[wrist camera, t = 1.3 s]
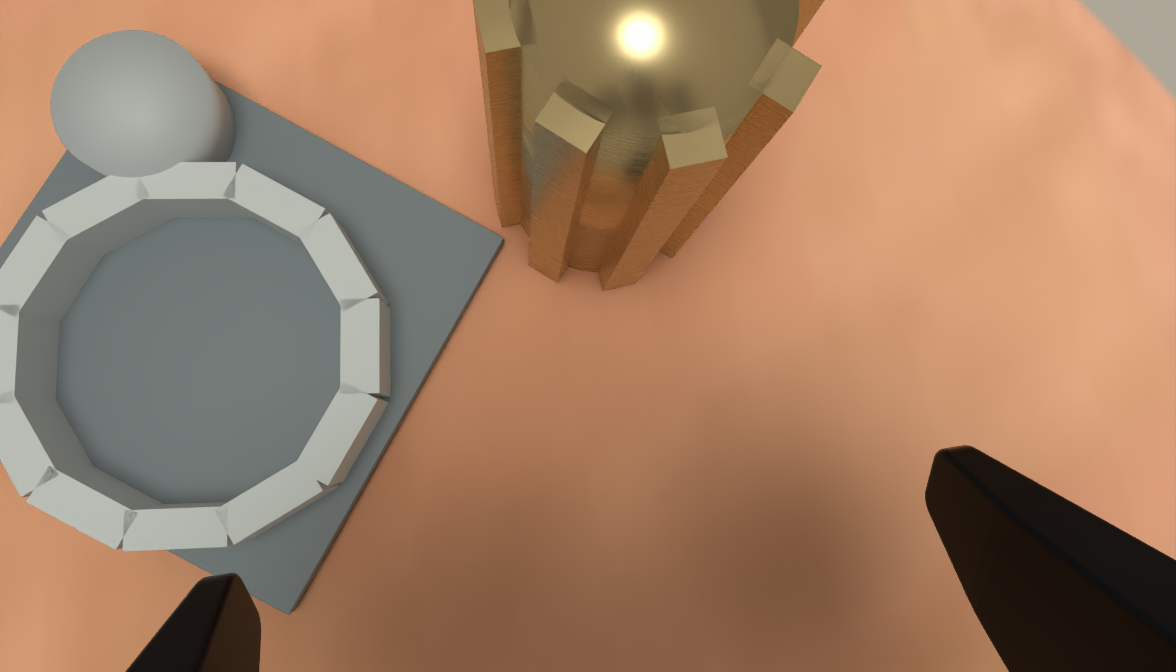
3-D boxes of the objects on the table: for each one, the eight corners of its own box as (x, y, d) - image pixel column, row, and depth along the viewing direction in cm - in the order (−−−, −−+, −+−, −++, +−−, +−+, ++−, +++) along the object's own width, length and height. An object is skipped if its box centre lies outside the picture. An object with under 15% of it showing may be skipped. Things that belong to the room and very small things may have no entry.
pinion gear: (729, 164, 25) (891, -49, 14) (628, 327, 24) (718, 236, 13) (564, 60, 25) (597, -233, 14) (456, 219, 24) (402, 37, 13)
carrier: (503, 242, 24) (501, 219, 21) (294, 610, 22) (264, 632, 20) (150, 50, 24) (105, 3, 21) (-90, 404, 22) (-170, 400, 19)
